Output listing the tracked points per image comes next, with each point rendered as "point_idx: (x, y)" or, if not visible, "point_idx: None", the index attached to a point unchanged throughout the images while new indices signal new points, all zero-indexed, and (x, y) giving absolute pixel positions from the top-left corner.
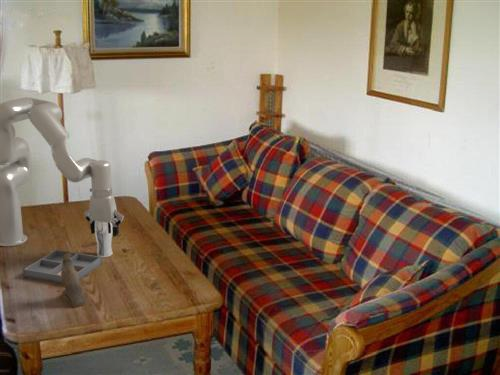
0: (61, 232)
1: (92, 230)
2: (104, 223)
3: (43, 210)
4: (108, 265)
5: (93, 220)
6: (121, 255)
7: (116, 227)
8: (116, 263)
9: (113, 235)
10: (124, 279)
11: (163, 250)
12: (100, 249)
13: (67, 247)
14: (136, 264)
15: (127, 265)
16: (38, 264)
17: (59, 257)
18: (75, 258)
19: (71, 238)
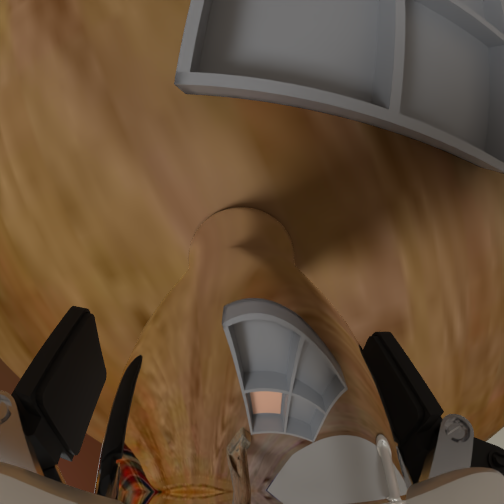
0: (469, 386)
1: (390, 358)
2: (129, 476)
3: (481, 437)
4: (136, 92)
5: (447, 483)
6: (132, 266)
7: (12, 396)
8: (101, 140)
9: (76, 312)
10: (21, 4)
11: (22, 351)
12: (254, 232)
13: (458, 287)
14: (12, 173)
15: (40, 140)
16: (493, 21)
17: (469, 130)
18: (383, 73)
19: (446, 367)
